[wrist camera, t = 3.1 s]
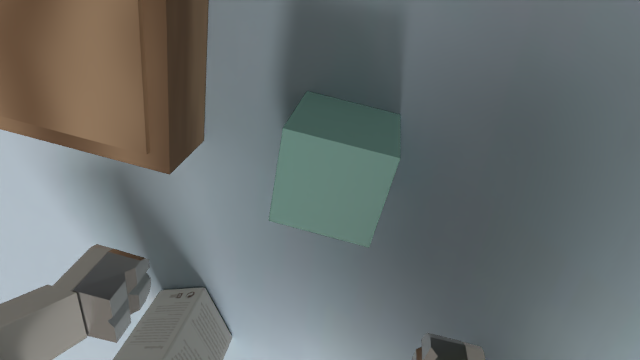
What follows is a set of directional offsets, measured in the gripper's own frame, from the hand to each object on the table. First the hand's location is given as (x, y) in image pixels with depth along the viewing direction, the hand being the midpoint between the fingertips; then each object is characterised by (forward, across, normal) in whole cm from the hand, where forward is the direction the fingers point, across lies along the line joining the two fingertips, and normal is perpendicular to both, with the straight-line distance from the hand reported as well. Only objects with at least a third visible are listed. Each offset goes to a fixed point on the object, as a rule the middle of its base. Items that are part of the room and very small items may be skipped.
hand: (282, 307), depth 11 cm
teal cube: (+12, 0, -1) cm, 12 cm away
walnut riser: (+12, -14, +3) cm, 19 cm away
